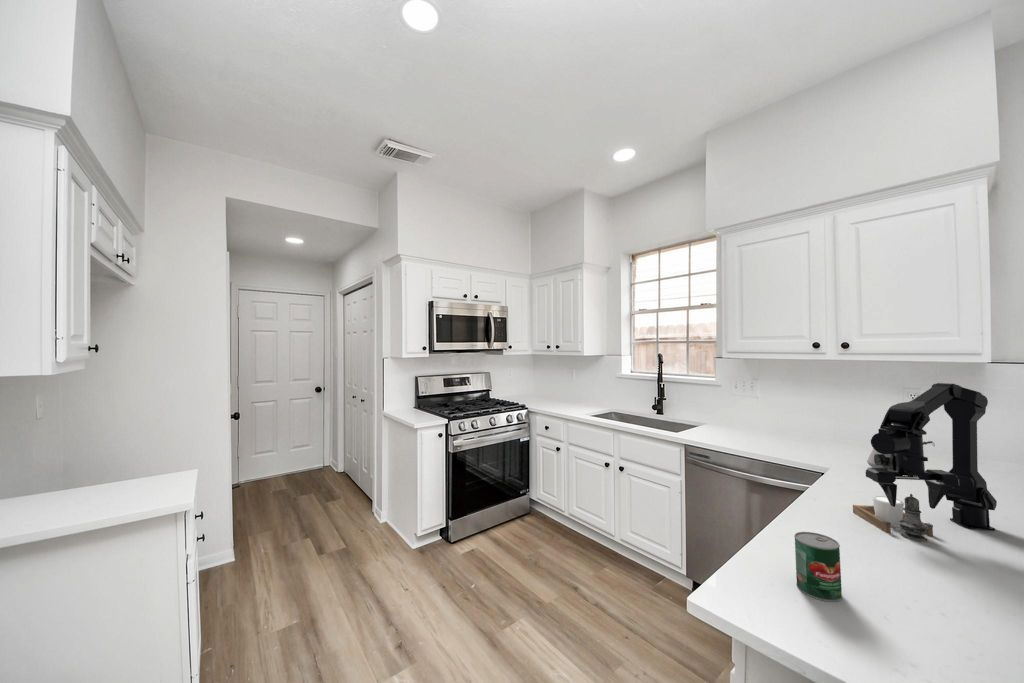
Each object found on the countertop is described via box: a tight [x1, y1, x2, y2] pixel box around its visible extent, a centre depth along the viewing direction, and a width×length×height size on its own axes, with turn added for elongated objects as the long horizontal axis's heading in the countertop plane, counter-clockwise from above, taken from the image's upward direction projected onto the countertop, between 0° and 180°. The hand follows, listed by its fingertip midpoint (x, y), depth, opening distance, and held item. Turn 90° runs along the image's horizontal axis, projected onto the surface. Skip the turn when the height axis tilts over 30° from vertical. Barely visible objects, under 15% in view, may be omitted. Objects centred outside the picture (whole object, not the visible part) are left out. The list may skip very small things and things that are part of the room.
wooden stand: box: [852, 504, 934, 537], centre depth 117 cm, size 11×15×3 cm
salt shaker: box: [898, 493, 928, 543], centre depth 109 cm, size 6×6×12 cm
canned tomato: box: [793, 531, 843, 603], centre depth 85 cm, size 8×8×11 cm
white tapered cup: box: [871, 495, 905, 528], centre depth 118 cm, size 7×7×7 cm
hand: (912, 507), depth 109 cm, fingers open, 9 cm apart
